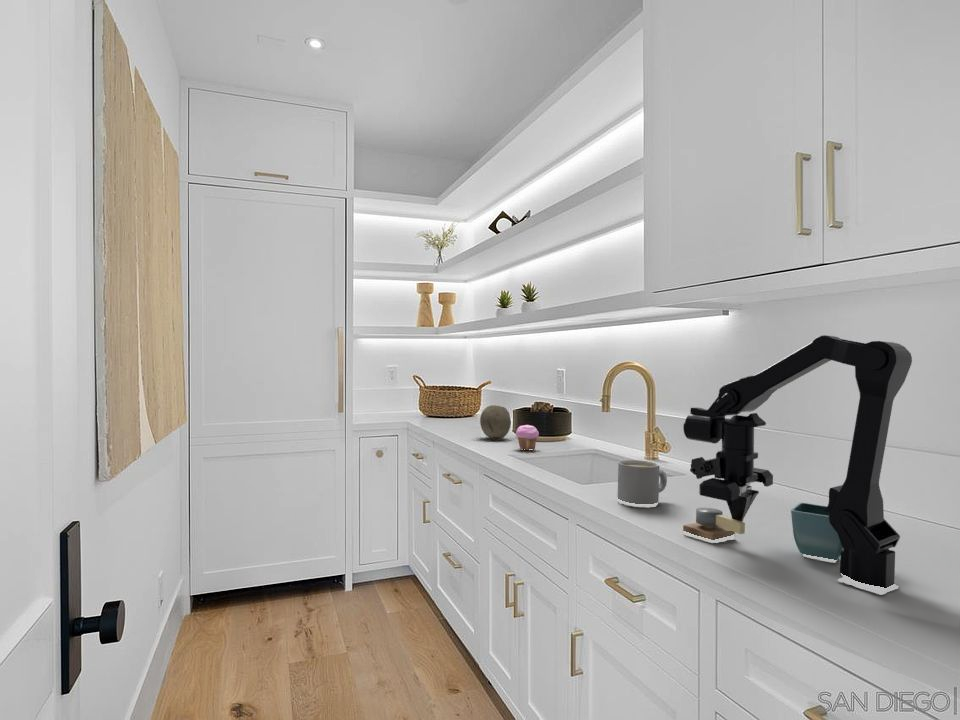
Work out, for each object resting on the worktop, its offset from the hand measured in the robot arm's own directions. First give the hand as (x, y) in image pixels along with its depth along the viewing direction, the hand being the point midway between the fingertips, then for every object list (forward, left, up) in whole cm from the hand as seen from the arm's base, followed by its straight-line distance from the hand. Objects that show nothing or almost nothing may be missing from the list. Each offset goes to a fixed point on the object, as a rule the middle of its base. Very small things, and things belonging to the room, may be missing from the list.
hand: (736, 526), depth 112 cm
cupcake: (+112, -33, -4) cm, 117 cm away
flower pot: (-12, -8, -4) cm, 15 cm away
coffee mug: (+32, -10, -4) cm, 34 cm away
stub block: (+6, 0, -4) cm, 7 cm away
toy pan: (+3, +1, -1) cm, 3 cm away
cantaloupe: (+142, -38, -4) cm, 147 cm away
